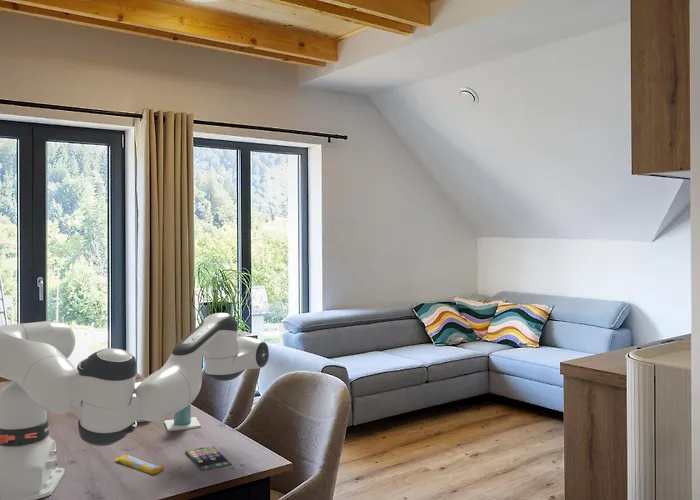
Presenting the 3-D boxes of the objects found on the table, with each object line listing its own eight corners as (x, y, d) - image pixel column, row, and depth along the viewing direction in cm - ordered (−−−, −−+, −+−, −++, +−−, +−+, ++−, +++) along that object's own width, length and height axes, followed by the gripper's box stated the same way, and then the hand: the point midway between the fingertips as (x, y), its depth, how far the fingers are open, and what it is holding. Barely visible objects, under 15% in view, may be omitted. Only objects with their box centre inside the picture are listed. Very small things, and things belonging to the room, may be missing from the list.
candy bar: (166, 472, 165) (166, 465, 165) (152, 477, 162) (152, 470, 162) (127, 458, 175) (127, 452, 175) (114, 463, 172) (113, 456, 172)
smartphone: (201, 472, 165) (201, 468, 165) (185, 455, 178) (185, 450, 178) (231, 466, 169) (231, 462, 169) (213, 449, 182) (213, 445, 182)
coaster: (200, 427, 202) (200, 425, 202) (168, 431, 198) (168, 429, 198) (195, 418, 211) (195, 416, 211) (164, 422, 207) (164, 420, 207)
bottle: (191, 424, 203) (190, 376, 202) (175, 426, 201) (173, 378, 200) (189, 419, 208) (188, 373, 207) (173, 421, 206) (171, 374, 205)
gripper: (197, 365, 182) (166, 359, 190) (248, 354, 198) (218, 349, 206) (197, 343, 181) (165, 338, 189) (248, 333, 198) (218, 329, 206)
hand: (193, 343), depth 198 cm, fingers open, 8 cm apart
